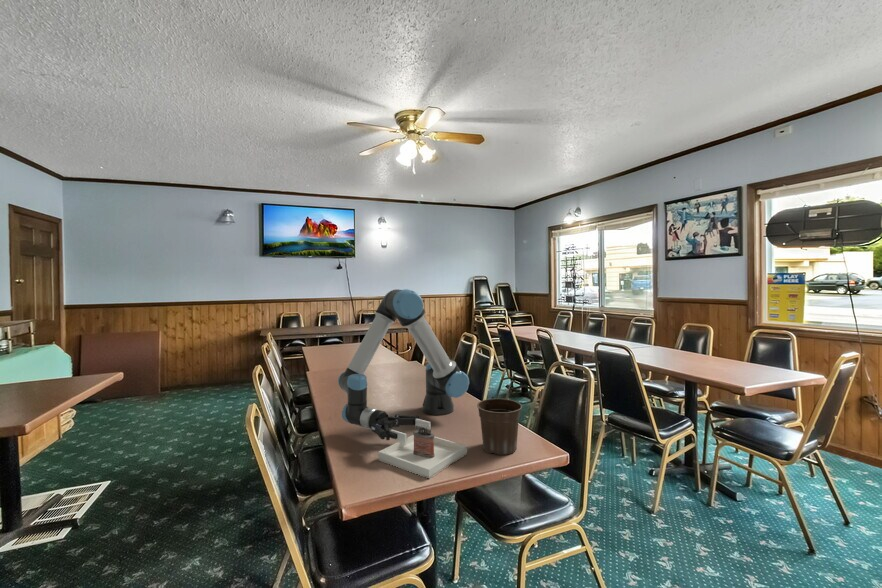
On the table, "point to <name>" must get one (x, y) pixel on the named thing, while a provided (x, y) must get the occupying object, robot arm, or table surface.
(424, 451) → the lighter
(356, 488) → the table surface
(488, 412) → the plant pot
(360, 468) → the table surface
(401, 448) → the tray
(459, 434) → the table surface
